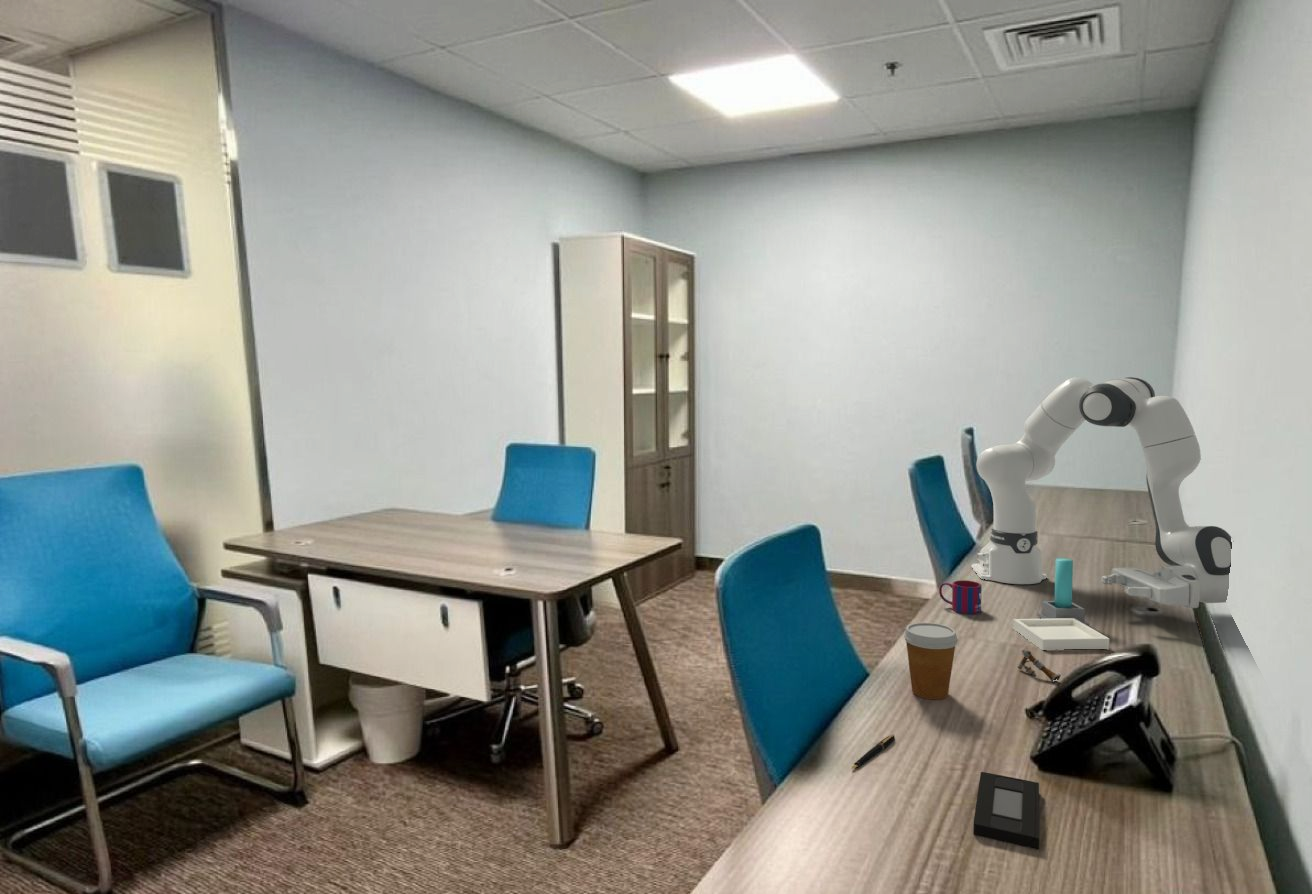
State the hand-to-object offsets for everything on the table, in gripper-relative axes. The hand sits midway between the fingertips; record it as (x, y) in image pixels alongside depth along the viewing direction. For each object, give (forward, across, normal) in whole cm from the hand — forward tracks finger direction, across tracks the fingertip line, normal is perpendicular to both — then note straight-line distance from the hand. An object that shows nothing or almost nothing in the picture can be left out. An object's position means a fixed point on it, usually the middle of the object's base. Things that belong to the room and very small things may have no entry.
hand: (1114, 585), depth 179 cm
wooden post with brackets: (+34, +33, +9) cm, 48 cm away
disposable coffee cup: (+57, +40, +9) cm, 70 cm away
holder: (+12, 0, +8) cm, 15 cm away
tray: (+19, +12, +8) cm, 24 cm away
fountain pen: (+74, +63, +9) cm, 97 cm away
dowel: (+12, 0, +8) cm, 14 cm away
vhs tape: (+60, +80, +9) cm, 100 cm away
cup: (+32, -11, +9) cm, 35 cm away
